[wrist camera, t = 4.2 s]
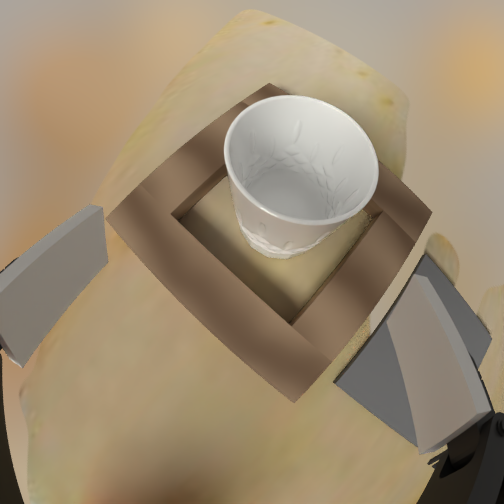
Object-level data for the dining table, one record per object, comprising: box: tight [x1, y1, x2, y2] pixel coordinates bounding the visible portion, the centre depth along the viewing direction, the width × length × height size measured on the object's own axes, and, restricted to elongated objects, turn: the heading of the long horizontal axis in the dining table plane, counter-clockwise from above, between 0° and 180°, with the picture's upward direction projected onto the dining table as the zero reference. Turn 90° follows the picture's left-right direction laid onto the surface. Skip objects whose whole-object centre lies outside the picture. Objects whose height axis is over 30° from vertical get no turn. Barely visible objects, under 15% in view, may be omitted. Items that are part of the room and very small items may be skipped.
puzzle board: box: [106, 83, 432, 403], centre depth 21 cm, size 20×20×2 cm
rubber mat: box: [333, 254, 492, 447], centre depth 19 cm, size 14×14×1 cm
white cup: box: [224, 95, 379, 259], centre depth 17 cm, size 8×8×10 cm
